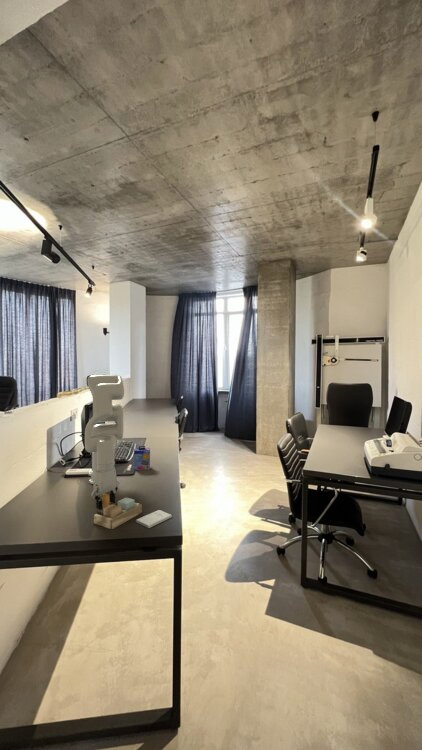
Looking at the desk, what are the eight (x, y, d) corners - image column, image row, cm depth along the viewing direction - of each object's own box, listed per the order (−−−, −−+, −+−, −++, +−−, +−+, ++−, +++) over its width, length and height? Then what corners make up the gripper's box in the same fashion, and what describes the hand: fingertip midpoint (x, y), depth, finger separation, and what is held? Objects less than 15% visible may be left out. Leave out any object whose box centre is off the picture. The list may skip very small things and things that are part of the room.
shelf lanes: (94, 523, 135) (93, 514, 134) (124, 507, 150) (124, 499, 150) (112, 529, 130) (112, 520, 130) (141, 512, 145) (141, 504, 145)
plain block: (103, 523, 135) (103, 508, 135) (112, 518, 139) (112, 504, 139) (112, 526, 133) (112, 511, 132) (121, 520, 137) (121, 506, 137)
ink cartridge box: (133, 470, 202) (133, 447, 201) (133, 467, 207) (133, 444, 207) (150, 469, 204) (150, 446, 204) (149, 466, 210) (149, 443, 209)
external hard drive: (135, 523, 136) (158, 512, 146) (148, 529, 131) (171, 518, 140) (135, 519, 136) (158, 509, 145) (148, 525, 131) (171, 514, 140)
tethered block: (99, 509, 147) (99, 496, 147) (107, 505, 152) (107, 492, 152) (126, 517, 140) (126, 503, 139) (134, 513, 144) (134, 499, 144)
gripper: (113, 460, 158) (114, 497, 158) (84, 470, 142) (84, 511, 143) (125, 462, 154) (125, 500, 155) (96, 473, 139) (96, 515, 139)
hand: (106, 505), depth 149 cm, fingers open, 6 cm apart
